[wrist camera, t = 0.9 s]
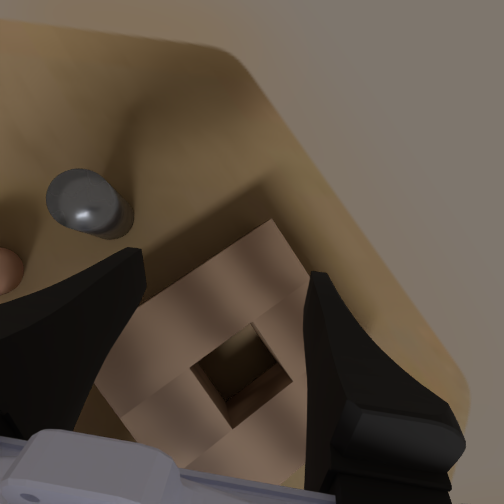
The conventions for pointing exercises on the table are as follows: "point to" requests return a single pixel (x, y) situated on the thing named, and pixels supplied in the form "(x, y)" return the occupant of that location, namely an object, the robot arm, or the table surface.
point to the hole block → (202, 343)
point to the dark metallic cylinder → (89, 204)
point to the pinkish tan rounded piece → (10, 270)
